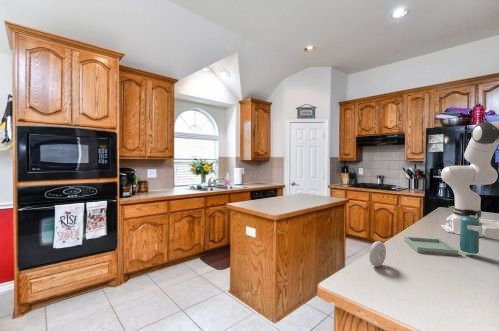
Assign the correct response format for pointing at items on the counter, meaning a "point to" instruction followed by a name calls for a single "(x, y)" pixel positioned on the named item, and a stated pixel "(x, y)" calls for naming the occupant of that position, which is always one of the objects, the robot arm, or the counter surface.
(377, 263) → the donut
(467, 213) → the beverage bottle
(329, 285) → the counter surface
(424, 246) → the tray
